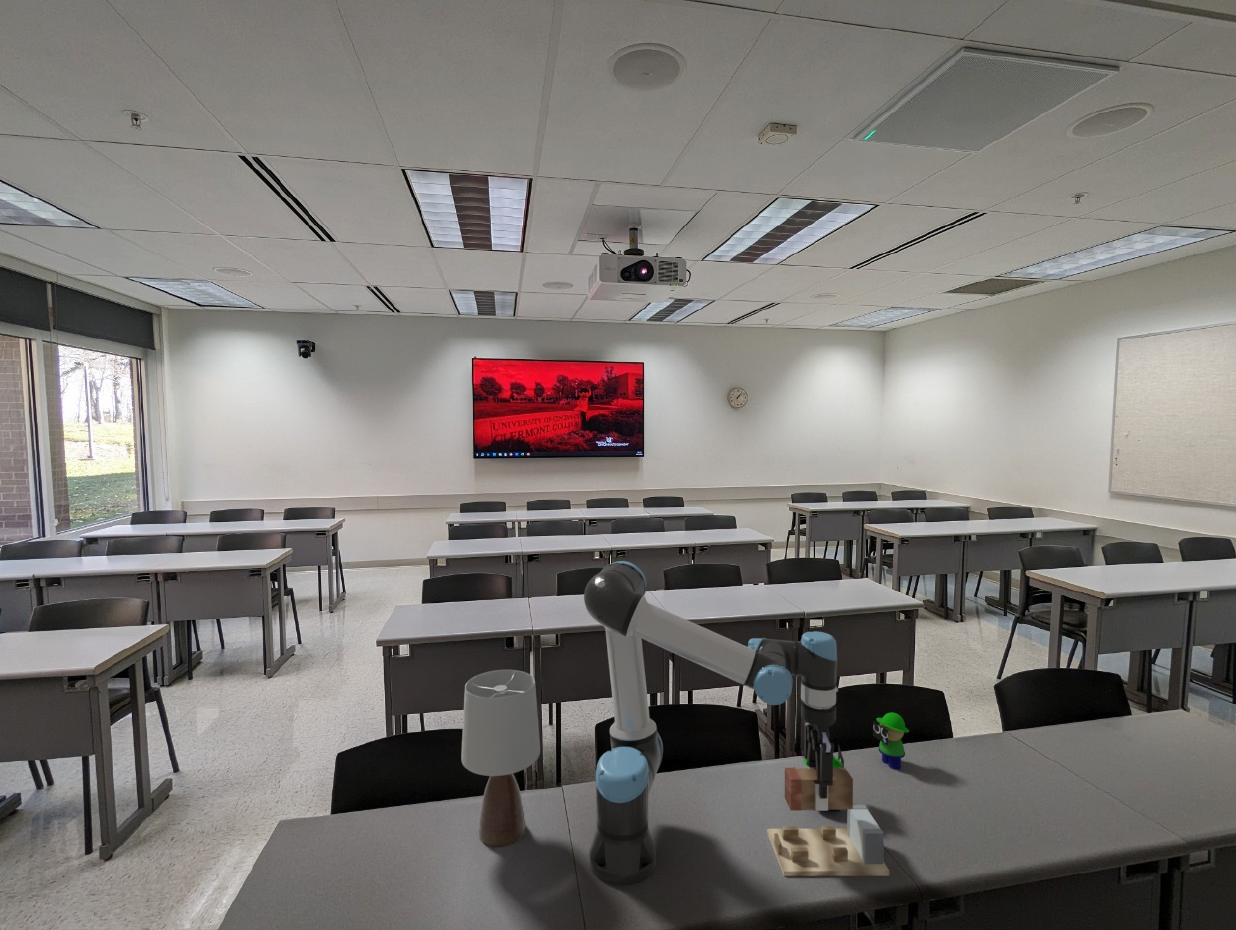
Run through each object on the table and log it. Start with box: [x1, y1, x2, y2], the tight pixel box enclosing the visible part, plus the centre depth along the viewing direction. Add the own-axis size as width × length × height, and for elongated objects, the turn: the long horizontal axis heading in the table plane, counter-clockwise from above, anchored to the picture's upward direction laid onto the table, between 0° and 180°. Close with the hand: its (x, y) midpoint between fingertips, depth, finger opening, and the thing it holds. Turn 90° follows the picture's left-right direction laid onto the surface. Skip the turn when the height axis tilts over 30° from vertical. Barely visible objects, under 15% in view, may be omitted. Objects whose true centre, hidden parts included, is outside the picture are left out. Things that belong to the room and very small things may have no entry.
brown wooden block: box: [784, 767, 854, 812], centre depth 135 cm, size 14×5×7 cm, turn 90°
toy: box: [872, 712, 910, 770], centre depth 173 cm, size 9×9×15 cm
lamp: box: [460, 669, 541, 848], centre depth 143 cm, size 19×19×37 cm
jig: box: [767, 825, 890, 877], centre depth 136 cm, size 23×14×4 cm, turn 90°
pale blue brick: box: [846, 804, 885, 864], centre depth 136 cm, size 4×10×7 cm, turn 0°
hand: (817, 802), depth 136 cm, fingers closed on brown wooden block, 4 cm apart
